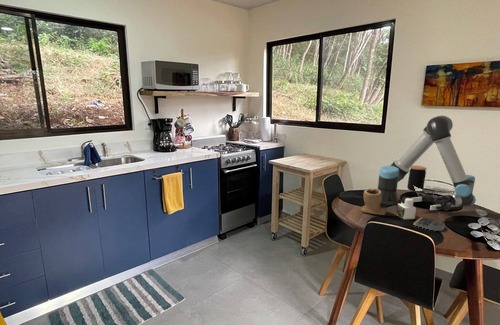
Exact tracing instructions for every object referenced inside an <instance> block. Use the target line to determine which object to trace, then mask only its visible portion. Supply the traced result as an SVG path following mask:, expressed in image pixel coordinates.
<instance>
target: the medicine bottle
mask: <svg viewBox="0 0 500 325" xmlns="http://www.w3.org/2000/svg"><path fill="white" fill-rule="evenodd" d="M413 201H414V199H413V197H410V196H402V198H401V203H397V207H396V213H395V214H396V216H398V217H399V218H401V219H402V218H403V219H402V220H414V219H415V218H416V211H417V207H415V206H414V202H413Z"/></svg>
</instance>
